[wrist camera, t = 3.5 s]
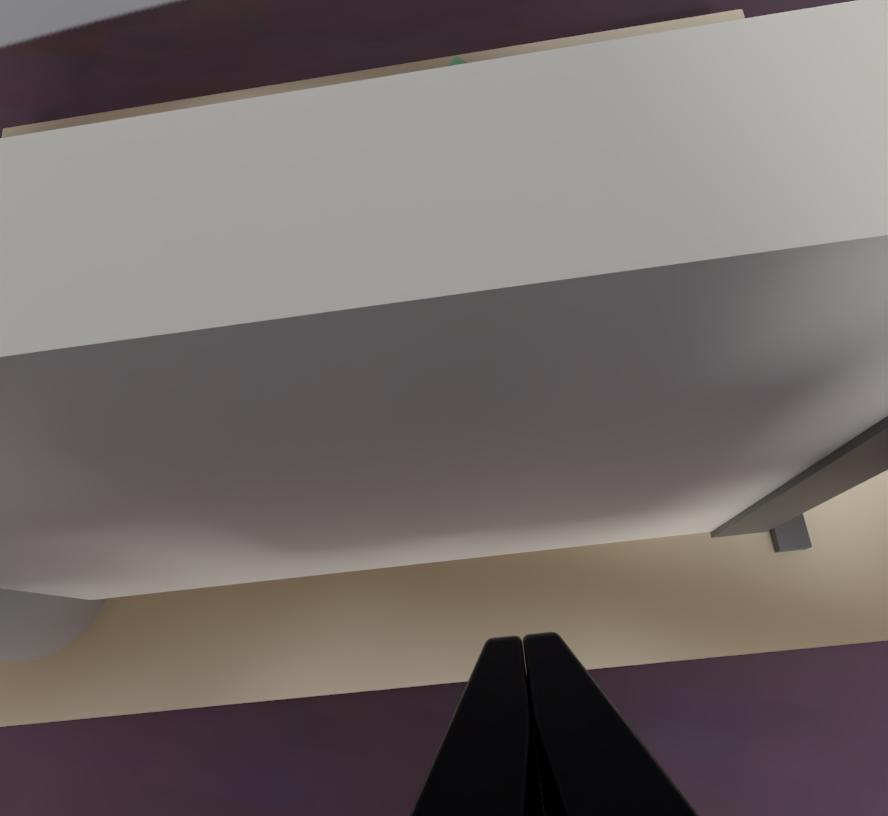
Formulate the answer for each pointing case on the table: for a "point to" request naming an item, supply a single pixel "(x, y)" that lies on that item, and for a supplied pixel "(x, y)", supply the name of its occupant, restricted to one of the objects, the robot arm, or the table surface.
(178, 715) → the table surface
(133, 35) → the table surface
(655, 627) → the board
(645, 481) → the white panel grey edge
